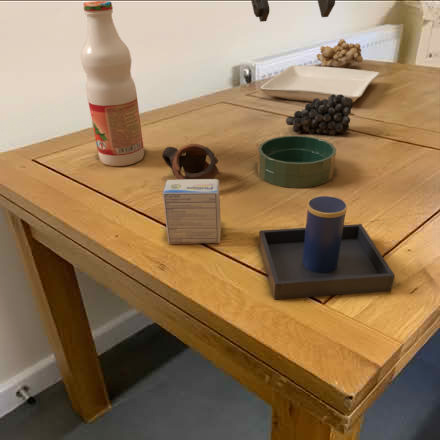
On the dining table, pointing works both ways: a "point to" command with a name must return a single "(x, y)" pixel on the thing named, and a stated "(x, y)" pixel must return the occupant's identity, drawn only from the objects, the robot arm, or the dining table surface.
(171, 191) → the medicine box
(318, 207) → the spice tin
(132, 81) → the fruit juice
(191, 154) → the pottery mug
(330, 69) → the square plate
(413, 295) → the dining table surface
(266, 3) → the robot arm
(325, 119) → the fruit
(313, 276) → the tray
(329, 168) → the bowl
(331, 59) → the mineral formation
